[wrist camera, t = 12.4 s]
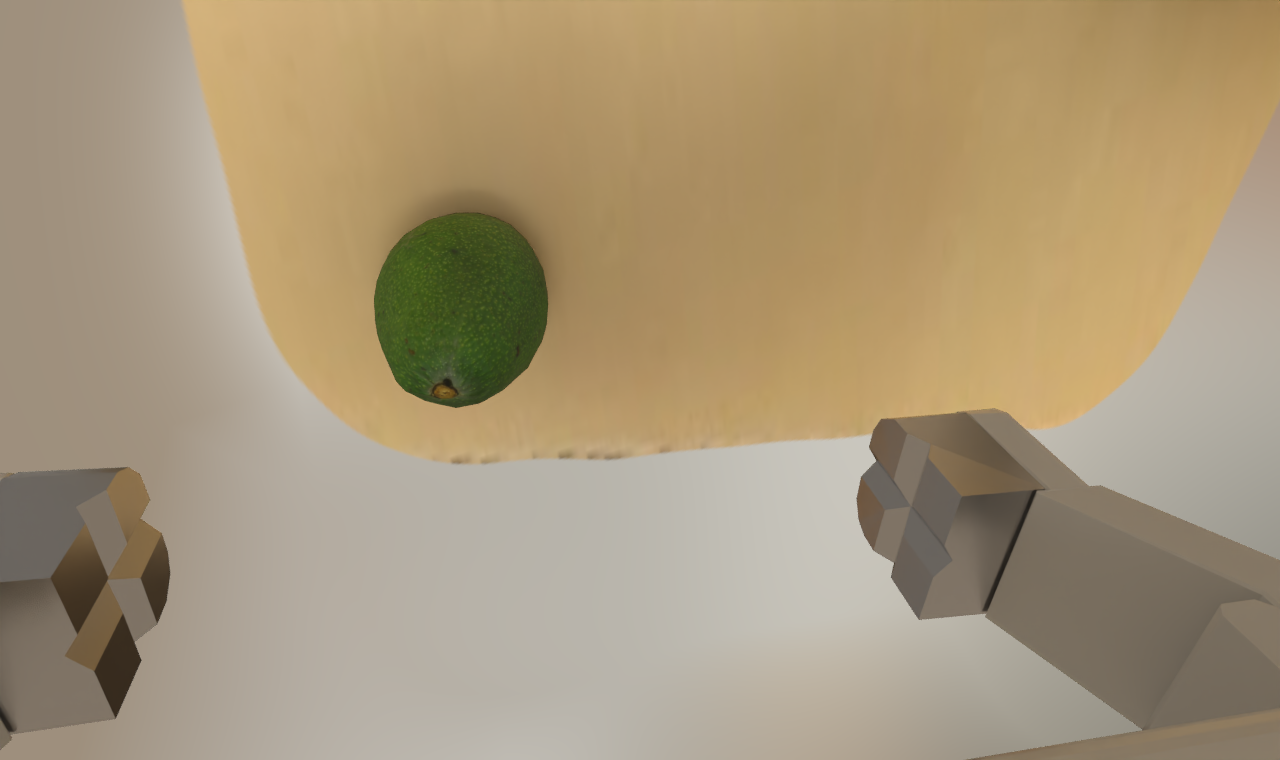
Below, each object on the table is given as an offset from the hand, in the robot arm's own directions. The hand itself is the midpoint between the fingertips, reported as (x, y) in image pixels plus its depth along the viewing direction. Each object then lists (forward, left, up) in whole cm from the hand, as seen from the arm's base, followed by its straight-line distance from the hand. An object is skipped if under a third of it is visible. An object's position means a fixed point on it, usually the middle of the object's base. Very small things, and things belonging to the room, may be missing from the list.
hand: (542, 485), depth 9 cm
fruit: (+6, +8, -32) cm, 33 cm away
